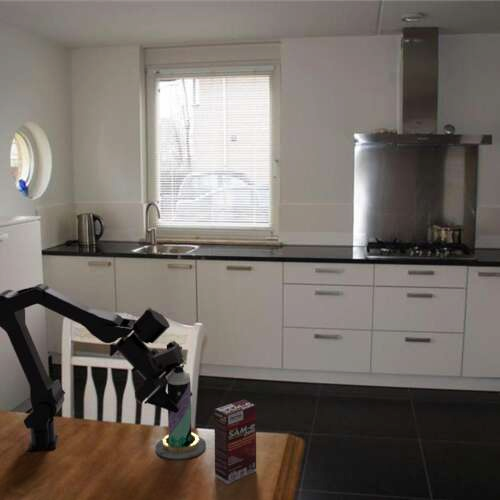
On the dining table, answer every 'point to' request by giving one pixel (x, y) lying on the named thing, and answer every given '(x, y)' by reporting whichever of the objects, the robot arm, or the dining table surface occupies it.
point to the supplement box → (235, 441)
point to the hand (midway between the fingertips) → (184, 403)
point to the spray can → (182, 398)
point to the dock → (181, 448)
